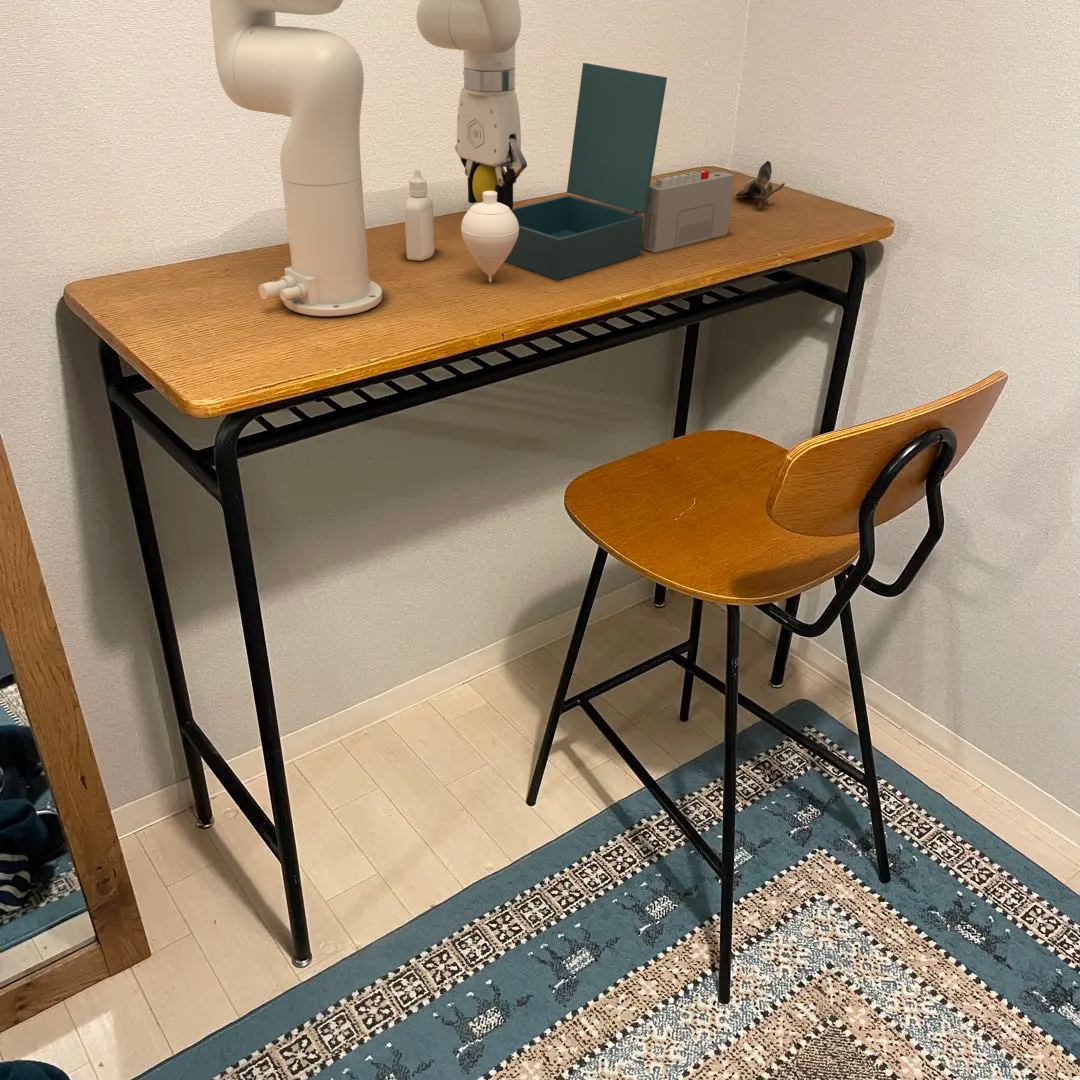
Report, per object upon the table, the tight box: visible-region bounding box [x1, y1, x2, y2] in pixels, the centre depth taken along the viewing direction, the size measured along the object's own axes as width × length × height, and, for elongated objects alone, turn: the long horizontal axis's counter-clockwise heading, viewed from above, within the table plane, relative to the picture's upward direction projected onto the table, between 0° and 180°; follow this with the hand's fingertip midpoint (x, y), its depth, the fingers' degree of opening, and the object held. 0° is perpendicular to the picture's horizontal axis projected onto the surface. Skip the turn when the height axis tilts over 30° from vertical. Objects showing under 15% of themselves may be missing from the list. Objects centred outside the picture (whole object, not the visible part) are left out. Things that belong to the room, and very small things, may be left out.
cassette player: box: [641, 169, 735, 253], centre depth 156 cm, size 16×3×10 cm, turn 129°
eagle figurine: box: [735, 160, 786, 211], centre depth 176 cm, size 8×7×9 cm
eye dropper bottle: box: [404, 169, 436, 262], centre depth 147 cm, size 4×6×12 cm
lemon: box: [472, 164, 507, 204], centre depth 161 cm, size 6×6×8 cm
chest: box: [504, 194, 644, 281], centre depth 151 cm, size 17×15×6 cm
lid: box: [566, 62, 668, 214], centre depth 150 cm, size 18×15×1 cm
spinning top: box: [460, 191, 519, 283], centre depth 138 cm, size 8×8×12 cm
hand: (490, 204), depth 163 cm, fingers closed on lemon, 5 cm apart
